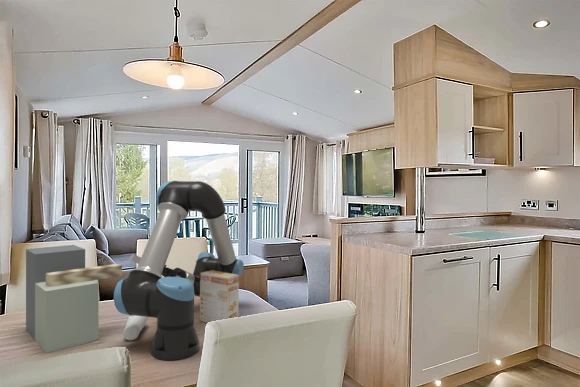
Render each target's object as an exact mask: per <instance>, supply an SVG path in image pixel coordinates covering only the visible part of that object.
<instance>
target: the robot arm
mask: <svg viewBox="0 0 580 387" xmlns="http://www.w3.org/2000/svg"><path fill="white" fill-rule="evenodd" d="M155 195H156V196H155V197H156V198H155V203H156V205H157V209H158V211H159V214H158V216H157V218H156V221H155V223H154V225H153V229H151V230H152V231H151V234H150V236H149V238H148V240H147V243H146V245H145V247H144V250H143V252H142V255H141V256H139V255H137V254H134V253H133V254H132V255H131V257H130V258H129V261H131V262H133V263H136V265H137V267H135V268H133V269H131V270H130V271H129V274H128V276H127V277H124V278H122V279H121V280H119V281H118V282H117V284H116V285H115V288H114V291H113V302H114V307H115V308H116V310H117V312H119V313H120V314H123V315H128V316H129V315H130V316H134V315H135V316H145V317H148V318H155V319H156V331H155V334H154V337H153V340H152V343H151V346H150V350H151V352H150V353H151V356H152V357H153V358H155V359H156V360H157V359H158V360H163V361H175V360H176V361H178V360H183V359H186V358H189V357H191V356H193V355H195V354H196V353H198V351H199V349H200V340H199V337H198V334H197V331H196V328H195V324H194V323H195V298H196V297H199V298H200V273H202V272H206V271H211V270H214V271H219V272H225V273H231V274H237V275H239V277H241V276H242V275H243V273H244V269H245V268H244V267H245V266H244V265H245V264H244V262H243V260H242V259H239V258H237V256H236V254H235V248H234V246H233V242H232V238H231V234H230V231H229V227H228V223H227V220H226V216H225V214H226V207H225V203H224V200H223V199H222V197H221V195H220V194H219V193H218V192H217V190H216V189H215V188H214V187H212V185H210V184H209V183H207V182H204V181H201V180H199V181H197V180H196V181H193V180H192V181H191V180H190V181H187V180H186V181H185V180H184V181H183V180H182V181H180V180H179V181H178V180H168V181H165V182H163V183H162V184H161V185H160V186H159V187H158V189H157V192H156V194H155ZM191 211H192V212H194V211H195V212H199V213H200V214H201V216H202V218H203V219H205V221H206V224H207V226H208V230H209V233H210V237H211V240H212V242H213V246H214V249H215V252H216V256H217V257H216V256H215V255H214V253H211V252H208V251H202V252H200V253H199V254H198V256H197V259H196V261H195V266H194V268H193V269H194V270H193V273H191V272H189V271H187V270H185V269H182V268H180V267H175V268H169V267H168V266H167V264H166V263H167V260H168V258H169V255H170V252H171V250H172V247H173V244H174V242H175V239H176V236H177V234H178V231H179V228H180V226H181V223H182V221H183V220H185V219H187V218H188V215H189V213H190V212H191Z"/></svg>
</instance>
